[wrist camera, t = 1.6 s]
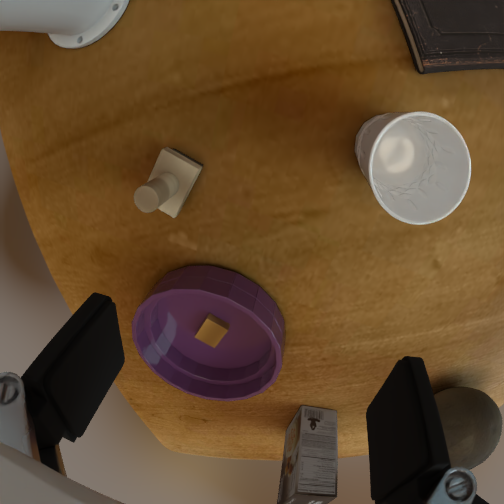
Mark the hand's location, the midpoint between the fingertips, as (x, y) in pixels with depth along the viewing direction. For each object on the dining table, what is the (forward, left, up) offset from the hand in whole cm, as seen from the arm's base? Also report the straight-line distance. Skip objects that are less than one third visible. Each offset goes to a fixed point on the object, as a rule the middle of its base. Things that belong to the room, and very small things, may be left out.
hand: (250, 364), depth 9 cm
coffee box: (+25, -31, -24) cm, 46 cm away
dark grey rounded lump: (+41, -13, -24) cm, 49 cm away
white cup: (+6, +8, -24) cm, 26 cm away
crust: (+2, -21, -23) cm, 31 cm away
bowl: (+2, -21, -23) cm, 31 cm away
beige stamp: (-10, -6, -23) cm, 26 cm away
